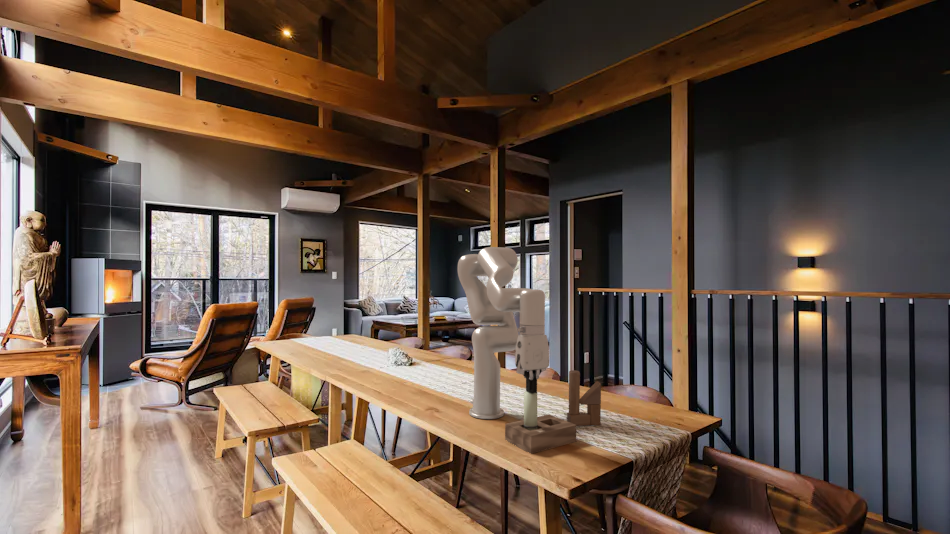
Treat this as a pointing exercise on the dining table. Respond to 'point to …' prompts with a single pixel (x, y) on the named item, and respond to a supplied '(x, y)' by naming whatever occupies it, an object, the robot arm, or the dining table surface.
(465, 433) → the dining table surface
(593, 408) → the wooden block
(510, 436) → the board
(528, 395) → the peg
